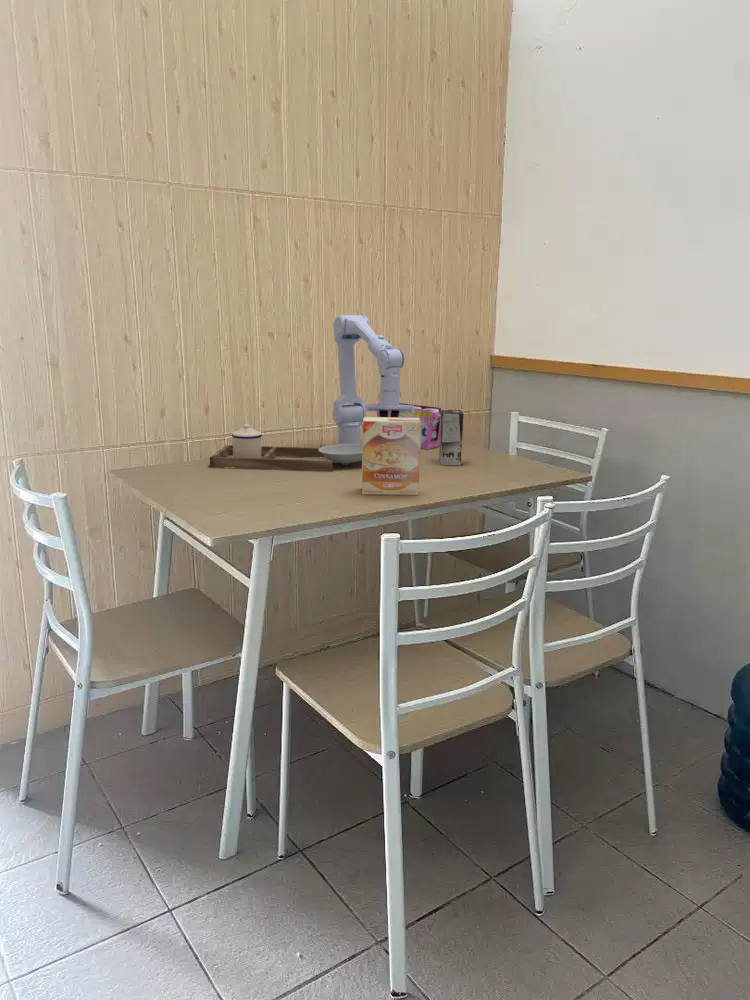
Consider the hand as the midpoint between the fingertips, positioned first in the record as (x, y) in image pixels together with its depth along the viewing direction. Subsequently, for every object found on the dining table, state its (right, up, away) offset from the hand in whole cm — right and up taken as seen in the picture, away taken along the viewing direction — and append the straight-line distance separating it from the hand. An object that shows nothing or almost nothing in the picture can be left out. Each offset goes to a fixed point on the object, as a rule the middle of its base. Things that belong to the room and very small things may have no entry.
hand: (388, 435), depth 226 cm
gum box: (+7, 0, +38) cm, 39 cm away
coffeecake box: (0, -17, -27) cm, 33 cm away
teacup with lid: (-44, -8, +5) cm, 45 cm away
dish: (-13, -9, +3) cm, 16 cm away
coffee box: (+19, -8, +9) cm, 23 cm away
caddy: (-34, -8, +4) cm, 35 cm away
